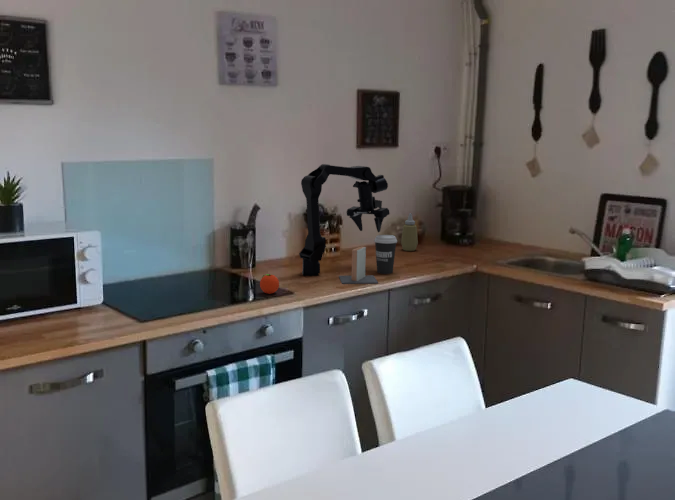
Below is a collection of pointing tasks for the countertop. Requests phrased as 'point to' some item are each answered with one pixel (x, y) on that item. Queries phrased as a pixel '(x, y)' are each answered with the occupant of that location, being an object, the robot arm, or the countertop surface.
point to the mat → (366, 280)
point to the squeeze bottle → (409, 235)
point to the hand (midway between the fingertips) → (370, 231)
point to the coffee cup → (385, 253)
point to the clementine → (269, 283)
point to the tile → (358, 263)
